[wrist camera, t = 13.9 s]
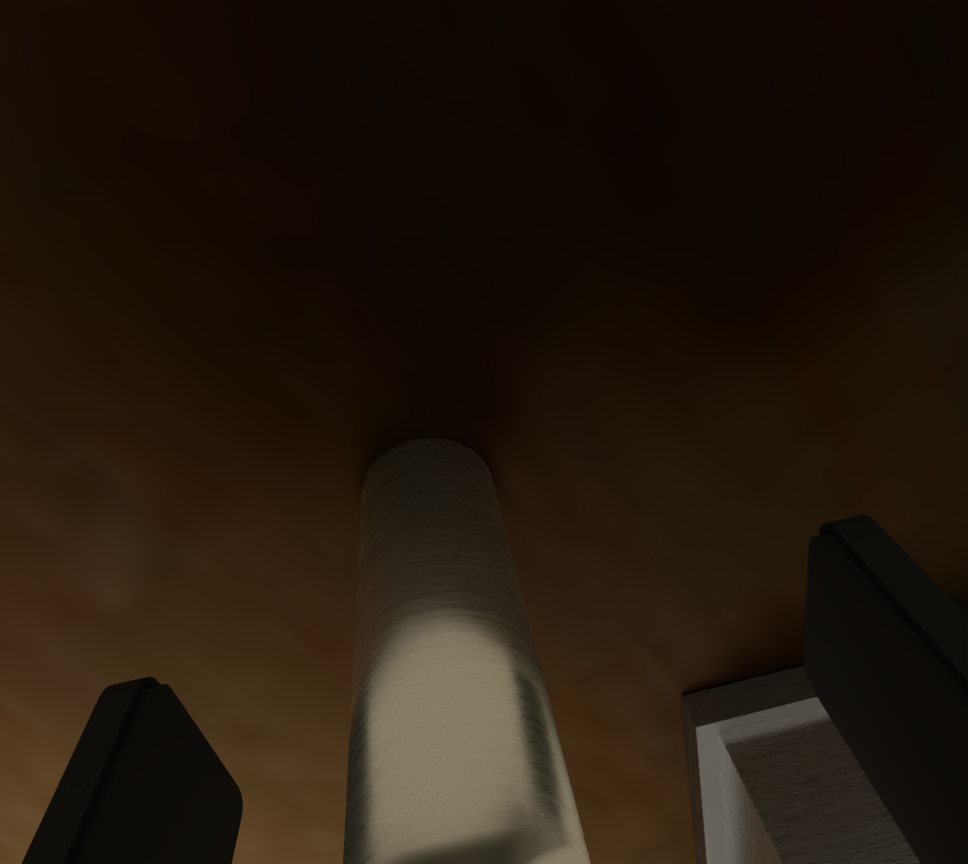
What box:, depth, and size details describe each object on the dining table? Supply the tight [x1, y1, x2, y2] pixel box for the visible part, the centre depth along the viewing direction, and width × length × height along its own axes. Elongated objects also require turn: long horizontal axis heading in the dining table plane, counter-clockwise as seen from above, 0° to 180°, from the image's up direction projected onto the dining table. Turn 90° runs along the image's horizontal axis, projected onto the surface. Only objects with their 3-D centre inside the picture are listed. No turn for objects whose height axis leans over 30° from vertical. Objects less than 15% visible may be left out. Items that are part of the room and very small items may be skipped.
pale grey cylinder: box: [343, 438, 591, 864], centre depth 11 cm, size 3×3×8 cm
